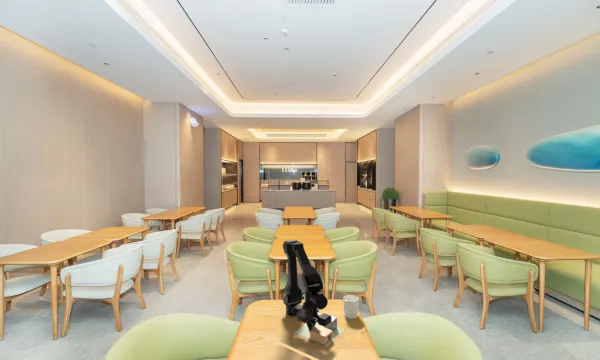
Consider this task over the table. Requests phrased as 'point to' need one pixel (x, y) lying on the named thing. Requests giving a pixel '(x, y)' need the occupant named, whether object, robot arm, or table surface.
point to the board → (305, 331)
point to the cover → (321, 334)
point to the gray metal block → (332, 324)
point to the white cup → (351, 306)
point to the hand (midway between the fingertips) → (310, 332)
